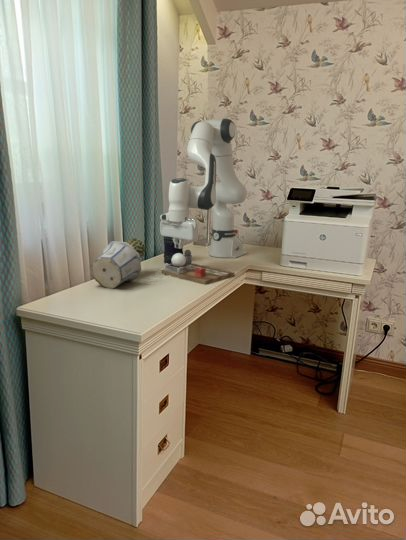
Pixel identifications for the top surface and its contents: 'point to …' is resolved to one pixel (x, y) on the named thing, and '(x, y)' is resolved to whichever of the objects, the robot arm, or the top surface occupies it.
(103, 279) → the potted plant
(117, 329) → the top surface
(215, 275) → the board
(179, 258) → the white ball
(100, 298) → the top surface
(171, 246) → the storage jar
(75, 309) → the top surface
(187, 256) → the pawn
